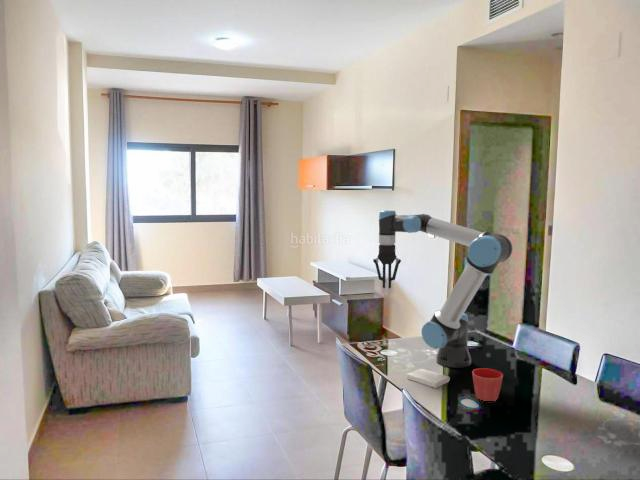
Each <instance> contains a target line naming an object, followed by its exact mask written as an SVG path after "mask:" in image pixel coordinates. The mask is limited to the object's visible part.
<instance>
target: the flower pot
mask: <svg viewBox="0 0 640 480" xmlns="http://www.w3.org/2000/svg"><path fill="white" fill-rule="evenodd" d="M471 375H472V381H473V388H474V393H475V398H476V397H477V398H478V399H480V400H479V401H481V400H483V401H482V402H484V401H494V402H497V401H498V400H497V399H499V395H500V392H501V388H502V384H503V378H504V374H503V372H501V371H499V370H496V369H492V368H488V367H486V368H485V367H483V368H482V367H479V368H478V367H477V368H475V369H473V370H472V371H471ZM477 398H476V399H477ZM478 399H477V400H478ZM496 400H497V401H496Z"/></svg>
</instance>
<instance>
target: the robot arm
mask: <svg viewBox="0 0 640 480" xmlns="http://www.w3.org/2000/svg"><path fill="white" fill-rule="evenodd" d="M378 213H379V215H378V230H379V233H378V243H379V245H378V255H377V257H375V258H373V260H372V261H373V263H374V265H375V268H376V272H377V276H378V280H380V281H382V288H383V289H384V295H385V297H386V296H389V289H391V288H392V281H395V280H396V277H397V273H398V269H399V265H400V263H401V262H402V259H400V258H398V257H397V255H396V236H397V235H396V232H397V233H408V234H412V233H418V232H422V233H426V234H429V235H432V236H435V237H438V238H441V239H445V240H447V241H450V242H454V243H456V244H460V245H463V246H467V247H468V248H467V254H468V255H466V259H465V262H466V266H465V267H464V269H463V271H462V272H461V274H460V276H459V278H458V279H457V282H456V283H455V285H454V286H453V288H452V290H451V292H450V293H449V295H448V297H447V298H446V300H445V302H444V303H443V305H442V307H441V309H440V310H436V311H435V312H434V314H433V315H432V318H431V319H430V320H429V321H428V322H427V321H426V323H425V324H424V325H422V328H421V336H422V340H423V341H424V343H425V344H426V346H428V347H430V348H431V349H435V350H436V349H437V350H438V352H437V353H436V357H435V358H436V361H435V362H436V363H437V364H439V365H441V366H444V367H447V368H456V369H457V368H458V369H459V368H460V369H461V368H466V367H470V366H472V357H471V354H470V352H469V351H470V350H469V348H468V347H469V346H468V336H469V335H468V331H469V319H468V318H469V317H468V314H467V313H465V311H466V310H467V309H468V306H469V305H470V303H471V302H472V300H474V297H475V296H476V293H477V292H478V290H479V289H480V287H481V286H482V284H483V282H484V280H485V279H486V277H487V276H489V275H492V274H493V273H494V272H495V270H496V268H497V267H498V265H499V264H500V263H503V262H505V261H507V260H509V258H510V257H511V255H512V253H513V243H512V242H511V240H510V238H508V237H507V236H506V235H504V234H501V233H496V232H492V231H486V230H485V231H483V232H482V231H480V230H479V231H478V230H476V229H472V228H469V227H466V226H463V225H459V224H457V223H452V222H448V221H445V220H443V219H438V218H435V217H432V216H431V215H429V214H426V213H425V214H424V213H422V214H408V215H407V214H406V215H404V214H403V215H401V214H400V215H399V214H397V212H396V210H380V211H379V212H378ZM394 261H395V265H394V268H393V273H392V264H393V263H394ZM379 262H380V263H381V264H382V275H381V271H380V270H381V269H380V265H379ZM386 265H388V268H387V269H388V273H387V275H388V276H387V277H388V280H386V272H387V271H386V267H387V266H386Z"/></svg>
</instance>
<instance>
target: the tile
mask: <svg viewBox="0 0 640 480" xmlns="http://www.w3.org/2000/svg"><path fill="white" fill-rule="evenodd" d="M406 379H407V380H410V381H413V382H416V383H419V384H422V385H425V386H428V387H431V388H434V389H436V388H438V387H440V386H441V387H442V386H443V385H445V384H447V383H449V381H450V379H451V377H450V376H448V375H444V374H441V373H437V372H434V371H432V370H431V371H430V370H427V369H424V368H418V369H415V370H413V371H411V372H408V373H406ZM450 382H451V381H450Z"/></svg>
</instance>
